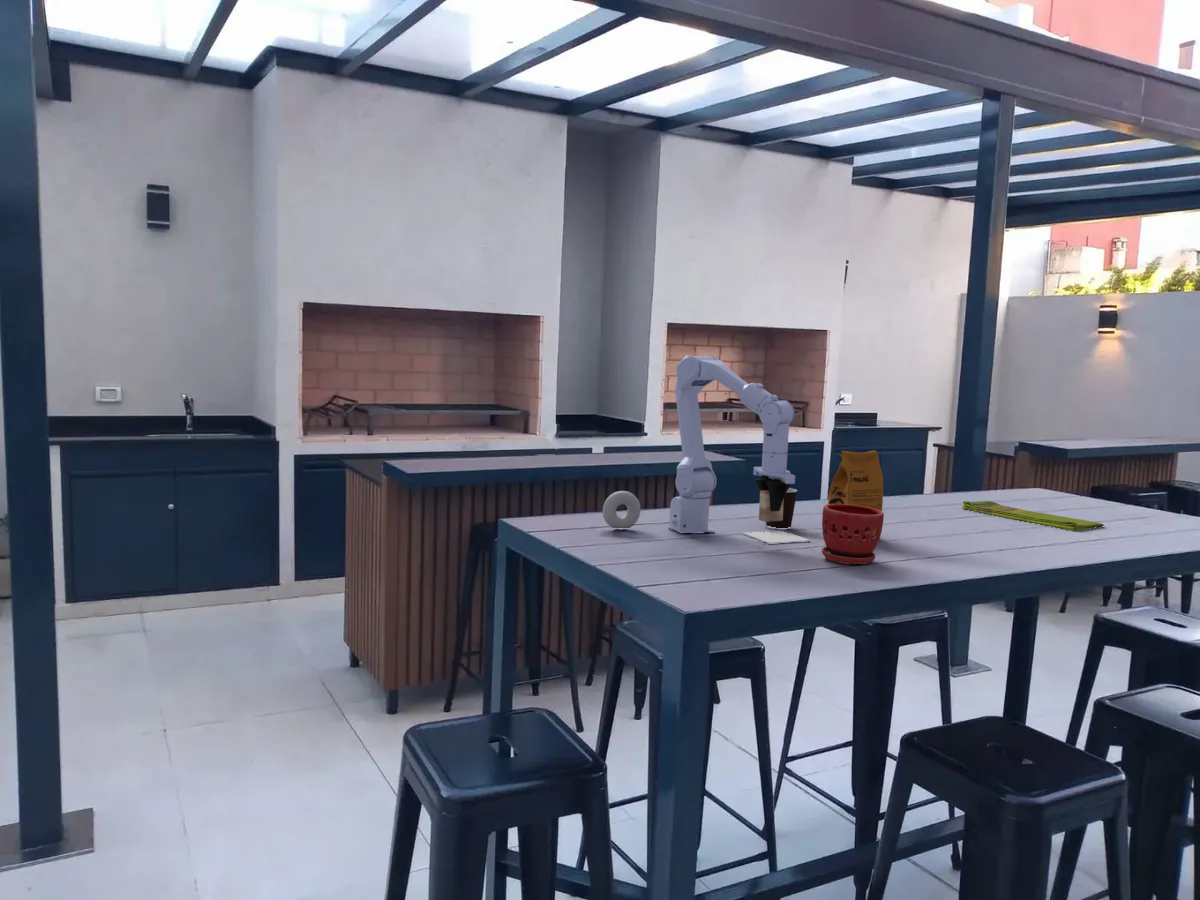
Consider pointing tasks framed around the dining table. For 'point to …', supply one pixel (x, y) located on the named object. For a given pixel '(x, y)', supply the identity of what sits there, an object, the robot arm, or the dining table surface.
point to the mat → (776, 537)
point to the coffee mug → (786, 510)
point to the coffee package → (858, 481)
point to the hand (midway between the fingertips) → (771, 509)
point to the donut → (612, 505)
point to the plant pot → (851, 533)
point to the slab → (768, 508)
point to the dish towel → (1029, 516)
